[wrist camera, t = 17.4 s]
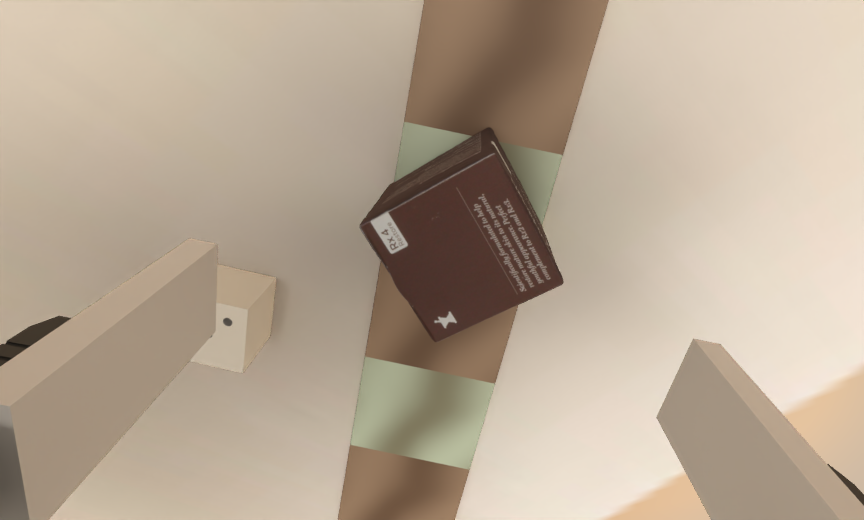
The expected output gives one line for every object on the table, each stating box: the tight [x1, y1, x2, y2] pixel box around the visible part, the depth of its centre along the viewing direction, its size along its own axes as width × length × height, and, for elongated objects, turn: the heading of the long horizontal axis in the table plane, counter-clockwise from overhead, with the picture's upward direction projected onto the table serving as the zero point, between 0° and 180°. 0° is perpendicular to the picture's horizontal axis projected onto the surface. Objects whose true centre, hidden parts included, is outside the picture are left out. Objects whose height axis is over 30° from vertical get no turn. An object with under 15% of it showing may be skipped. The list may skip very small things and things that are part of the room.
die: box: [190, 264, 276, 374], centre depth 28 cm, size 4×4×4 cm
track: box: [338, 0, 608, 520], centre depth 29 cm, size 8×35×1 cm, turn 169°
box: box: [360, 127, 563, 342], centre depth 23 cm, size 6×6×7 cm
